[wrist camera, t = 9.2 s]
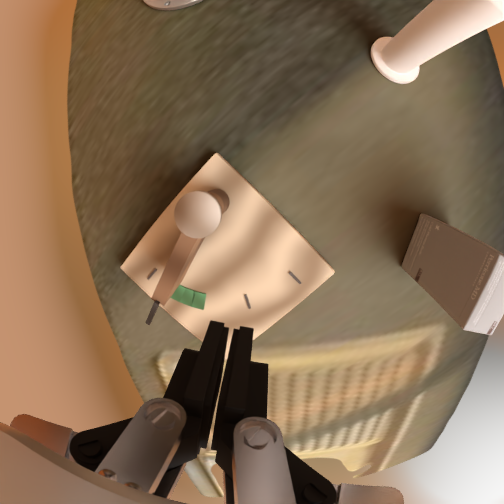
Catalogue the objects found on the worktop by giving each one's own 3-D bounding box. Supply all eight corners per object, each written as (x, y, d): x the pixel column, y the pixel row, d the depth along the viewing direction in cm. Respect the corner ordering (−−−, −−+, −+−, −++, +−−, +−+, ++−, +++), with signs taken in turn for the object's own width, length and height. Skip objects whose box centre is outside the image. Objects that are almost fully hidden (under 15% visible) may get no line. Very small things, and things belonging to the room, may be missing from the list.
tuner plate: (125, 264, 36) (119, 268, 35) (218, 153, 31) (215, 152, 29) (227, 354, 40) (225, 361, 38) (332, 268, 34) (335, 273, 33)
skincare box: (419, 211, 31) (498, 245, 16) (454, 228, 31) (529, 265, 16) (397, 269, 34) (459, 331, 19) (433, 281, 34) (495, 338, 19)
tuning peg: (209, 178, 30) (187, 183, 22) (240, 195, 31) (228, 206, 22) (155, 287, 35) (126, 321, 27) (181, 302, 35) (158, 340, 27)
